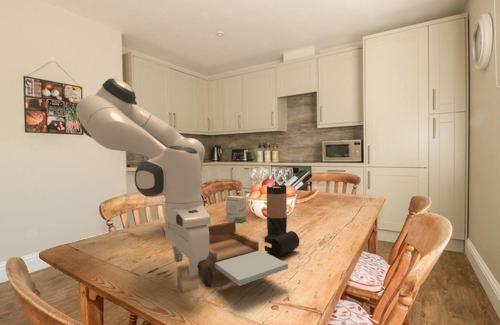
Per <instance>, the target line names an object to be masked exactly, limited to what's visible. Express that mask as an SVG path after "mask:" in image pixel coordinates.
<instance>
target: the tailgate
mask: <svg viewBox="0 0 500 325" xmlns="http://www.w3.org/2000/svg"><path fill="white" fill-rule="evenodd" d="M215 268H216V269H217V270H219V271H220V272H221V273H223V274H224V275H225V276H227V277H228V278H229V279H231V280H232V282H233V283H234V284H236V285H237V286H238V287H240V286H243V285H246V284H249V283H251V282H255V281H257V280H260V279H262V278H265V277H268V276H271V275H275V274H277V273H280V272H283V271H285V270H288V269H289V263H288V262H286V261H284V260H282V259H279V257H278V258H275V257H273V256H271V255H269V254H267V252H266V251H263V250H261V249H259V251H256V252H252V253H248V254H245V255H241V256H238V257H234V258H230V259H227V260H223V261H220V262H216V263H215Z"/></svg>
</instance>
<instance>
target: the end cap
mask: <svg viewBox="0 0 500 325" xmlns="http://www.w3.org/2000/svg"><path fill="white" fill-rule="evenodd" d="M276 234H279V236H274V235H271V234H270V235H268V234H267V235H265V236H264V243H265V244H270V246H268V245H264V252H266V253H267V254H269V255H271V256H273V257H275V258H278V259H279V258H280V257H283V256H284V255H287V254H289V253H291V252H293V251H294V250H296V249H297V248H298V247H299V246H300V238H299V236H298V234H297V233H296V232H295V231H293V230H290V231H288V232H287V231H286V232H283V231H279V232H276Z"/></svg>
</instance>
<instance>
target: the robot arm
mask: <svg viewBox="0 0 500 325" xmlns="http://www.w3.org/2000/svg"><path fill="white" fill-rule="evenodd" d="M136 98H137V96H136V93H135V91H134V89H133V88H132V87H131V86H130V85H129V84H128V83H127V82H126V81H125V82H124V81H123V80H120V79H116V78H112V77H111V78H108V79H107V80H105V82H104V83H102V84H101V88H99V90H98V91H97V92H96V93H95V95H94V94H93V95H92V94H91V95H90V94H89V95H87V96H84V97H83V98H81V99H80V100H79V101H78V103H77V104H76V108H75V112H76V115H77V117H78V120H79V121H80V123H79V127H80V129H81V131H82V133H83V134H85V135H86V136H87V137H89V138H91V139H92V140H94V141H95V142H96V143H97V144H98V145H100V146H102V147H104V148H105V149H108V150H113V151H117V152H118V151H120V152H128V153H134V154H140V155H142V156H144V157H146V158H148V160H144V161H141V162H140V163H139V164H138V166H137V167H136V169H135V171H134V184H135V187H136V190H137V191H138V192H139V193H140V194H141V195H142V196H145V197H146V198H147V197H150V198H152V197H153V198H156V197H161V196H164V211H165V212H164V222H165V223H164V224H162V229H163V231H164V234H165V235H164V236H165V239H166V240H167V241H168V242H169V243H170V244H171V248H172V251H173V260H174V261H175V262H176V263H179V262H180V263H181V262H182V261H183V260H184V259H183V255H184V256H185V257H186V258H187V259H188V262H189V263H188V264H189V266H188V267H187V269H188V274H189V275H190V276H193V275H196V274H197V266H198V264H199V261H202V260H206V259H207V257H208V255H209V228H208V226H210V225H211V215H210V214H209V212H208V211H207V210H206V209H205V207H204V206H205V205H204V204H203V197H202V178H203V176H202V172H203V165H204V158H205V156H206V149H205V146H204V145H203V143H202V142H201V141H200V140H199V139H196V138H193V137H185V136H183V135H182V134H180V132H178V131H177V130H176V129H175V128H173V127H172V126H171V125H170V124H168V123H167V122H165V121H164V120H163V119H162V118H159V117H157V116H156V115H155V114H153V113H151V112H150V111H148V110H146V109H144V108H143V107H140V106H139V105H137V104H138V102H137V101H136Z"/></svg>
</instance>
